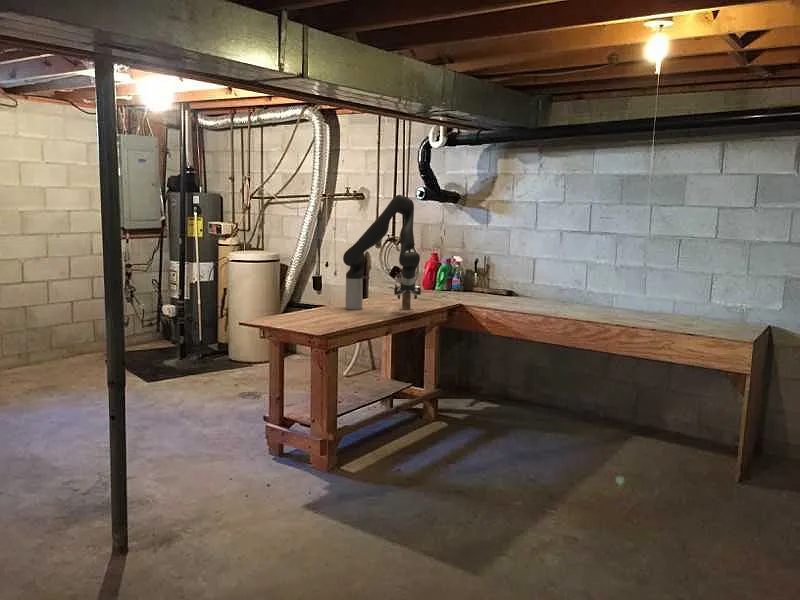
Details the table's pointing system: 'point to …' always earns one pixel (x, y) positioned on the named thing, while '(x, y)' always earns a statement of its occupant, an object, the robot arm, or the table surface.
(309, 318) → the table surface
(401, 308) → the mat
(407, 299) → the block
